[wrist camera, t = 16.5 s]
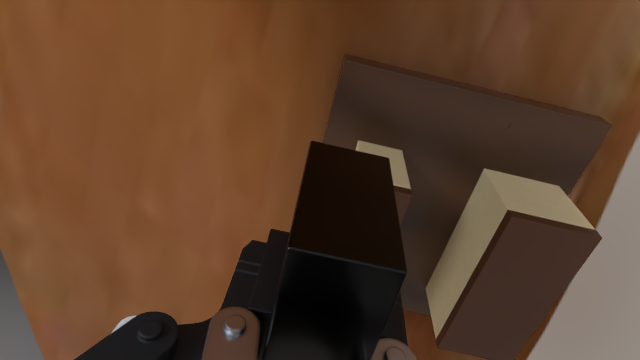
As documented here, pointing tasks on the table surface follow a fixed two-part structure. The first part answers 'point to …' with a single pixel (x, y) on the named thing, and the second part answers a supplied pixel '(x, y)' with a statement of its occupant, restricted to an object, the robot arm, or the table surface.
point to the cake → (506, 265)
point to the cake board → (453, 148)
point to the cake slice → (393, 173)
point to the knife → (338, 260)
